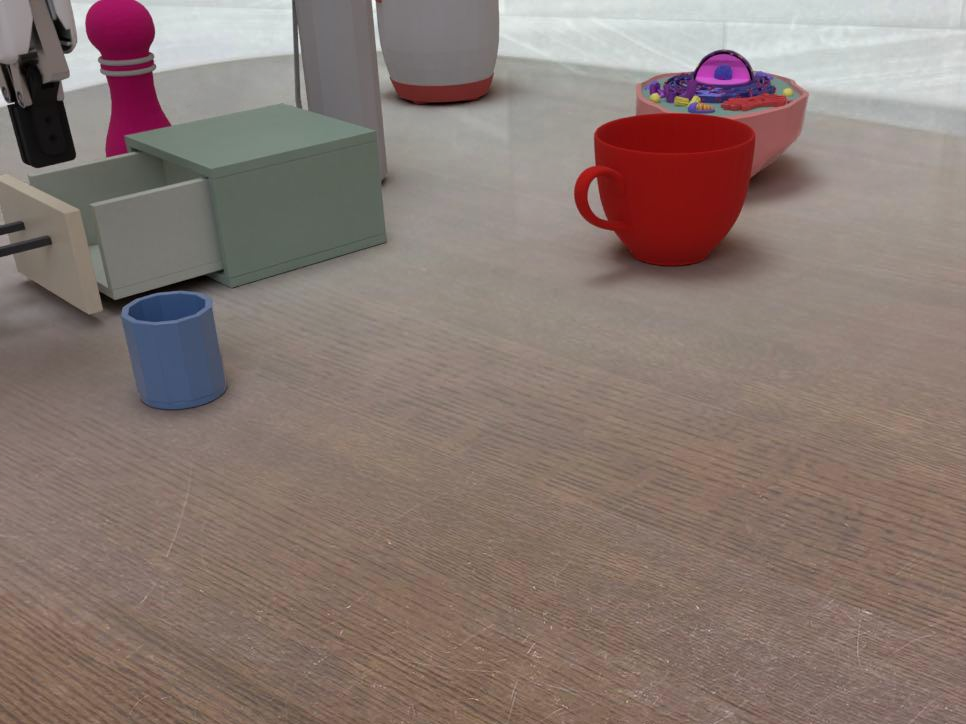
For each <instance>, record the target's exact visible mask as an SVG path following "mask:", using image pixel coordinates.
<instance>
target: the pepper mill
mask: <svg viewBox="0 0 966 724" xmlns="http://www.w3.org/2000/svg"><path fill="white" fill-rule="evenodd" d="M153 19H154V18H153V17H152V15H151V14H150V11H149V9H147V7H146V6H145V5H143V4H142V3H141V2H139V1H138V0H97V1H95V2H94V3H93V4H92V5H91V6H90V7H89V8H88V10H87V13H86V15H85V22H84V25H85V32H86V37H87V39H88V41H89V43H90V44H91V45H92V46H93V47H94V48H95V49H96V50H97V51H98V52H99V53H100V55H99V56H98V58H97V62H98V64H99V67H100V69H99V72H100V74H102V75H103V76H105V78H106V82H107V84H108V88H109V93H110V101H111V105H110V106H111V107H110V111H111V112H110V116H109V117H110V118H109V123H108V129H107V134H106V138H105V148H104V149H105V150H104V151H105V158H107V157H112V156H116V155H121V154H126V153H128V151H127V145H126V142H125V137H124V136H125V135H130V134H135V133H140V132H145V131H149V130H154V129H159V128H164V127H169V126H173V125H172V123H171V122H170V120H169V119H168V117H167V116H166V114H165V112H164V111H163V109H162V106H161V104H160V101H159V98H158V95H157V91H156V87H155V80H154V71H155V70H156V69H157V64H156V63H155V60H154V59H155V54H154V53H153V52H151V51H150V48H151V46H152V44H153V42H154V40H155V37H156V27H155V23H154V20H153Z"/></svg>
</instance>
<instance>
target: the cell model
mask: <svg viewBox="0 0 966 724" xmlns="http://www.w3.org/2000/svg"><path fill="white" fill-rule="evenodd" d="M809 97H810V92H808V91H807V90H806V89H804V88H803V87H801V86H800V85H799V84H797V82H796V80H794V79H792V78H789V77H786V76H781V75H778V74H773V73H769V72H765V71H761V70H754V69H753V67H752V65H751V64H750V62H749V61H748V60H747V59H746V58H745V57H744V56H743V55H741V53H739V52H737V51H735V50H732V49H723V48H722V49H717V50H714V51H711V52H709V53H708V54H706V55H704V57H702V58H701V60H699V62H698V64H697V65H696V67H695V69H694V70H693V71H692V70H691V71H682V72H669V73H661V74H657V75H655V76H653V77H651V78H648V79H646V80H644V81H643V82H639V83H637V84H636V85H635V116H637V115H645V114H658V113H691V114H704V115H712V116H719V117H724V118H729V119H732V120H736V121H739V122H742V123H744V124H746V125H748V126H749V127H751V128H752V129H753V131H754V132H755V149H754V157H753V164H752V170H751V176H750V179H751V178H753V177H755V175H756V174H758V173H759V172H761V171H762V170H764V169H766V168H767V167H769V166H770V165H772V164H773V163H775V162H776V161H777V160H778V159H779V158H781V156H783V154H784V153H785V152H786V151H787V150H788V149H789V148H790V147H791V146H792V145H794V144H795V142H796V141H797V140H798V139H799V138H800V136H801V135H802V132H803V130H804V125H805V119H806V113H807V107H808V102H809Z"/></svg>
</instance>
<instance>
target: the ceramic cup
mask: <svg viewBox="0 0 966 724" xmlns="http://www.w3.org/2000/svg"><path fill="white" fill-rule="evenodd" d="M593 149H594V162H595V163H594V165H593V166H592V165H591V166H589V167H587V168H585V169H584V170H583V171H581V173H580V174H579V175H578V177H577V178H576V181H575V184H574V187H573V198H574V203H575V207H576V209H577V211H578V213H579V214H580V215H581V217H582V218H583V219H584V220H585V221H586V222H587V223H588V224H590V225H592V226H594V227H596V228H598V229H603V230H606V231H611V232H614V234H615V235H616V236H617V238H618V239H619V240H620V241H621V243H622V244H623V245H624V246H625V247H626V248H627V249H628V250H629V252H630V253H631V255H632V257H634V259H636V260H638V261H640V262H643V263H646V264H651V265H655V266H669V267H672V266H673V267H674V266H685V265H692V264H695V263H699V262H701V261H703V260H706V259H707V258H708V257H709V256H710V253H712V251H714V249H715V248H717V247H718V245H720V243H721V242H722V241H723V240H724V239H725V238H726V236H727V235H728V234H729V233H730V231H731V229H732V228H733V227H734V225H736V222H737V220H738V218H739V216H740V215H741V212H742V209H743V207H744V204H745V201H746V198H747V195H748V194H747V193H748V190H749V186H750V181H751V178H750V176H751V170H752V164H753V157H754V149H755V132H754V131H753V129H752V128H751V127H749V126H748V125H746V124H744V123H742V122H739V121H736V120H732V119H729V118H724V117H719V116H712V115H704V114H691V113H658V114H645V115H637V116H636V115H630V116H627V117H620V118H617V119H614V120H611V121H608V122H606V123H603V124H601V125H600V126H598V127H597V128H596V130H595V131H594V133H593ZM595 179H596V182H597V188H598V194H599V198H600V204H601V206H602V209H603V213H604V215H605V218H606V219H603V218H600V217H598V216H597V215H596V214H595V213H594V211H593V210H592V208H591V206H590V203H589V197H588V196H589V188H590V186H591V184H592V182H593V181H594V180H595Z"/></svg>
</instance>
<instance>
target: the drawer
mask: <svg viewBox="0 0 966 724" xmlns="http://www.w3.org/2000/svg"><path fill="white" fill-rule="evenodd" d="M208 178H209V177H206V176H204V175H201V174H199V173H196V172H194V171H191V170H189V169H186V168H183V167H181V166H178V165H176V164H173V163H171V162H168V161H166V160H163V159H160V158H158V157H155V156H153V155H150V154H148V153H145V152H143V151H135V152H130V153H126V154H121V155H116V156H112V157H107V158H106V157H102V158H98V159H94V160H89V161H85V162H80V163H75V164H69V165H65V166H59V167H55V168H51V169H46V170H42V171H38V172H32V173H29V174H27V179H28V182H29V183H26V182H24V181H22V180H20V179H18V178H16V177H14V176H12V175H10V174H8V173H5V174H0V210H1V214H2V217H3V222H4V224H1V225H0V236H4V235H7V236H8V240H9V244H6V245H2V246H0V258H3V257H7V256H11V255H13V259H14V263H15V267H16V270H17V273H19V274H21V275H23V276H25V277H26V278H28V279H30V280H31V281H33V282H34V283H36V284H37V285H39V286H41V287H43V288H44V289H46V290H48V291H49V292H51V293H52V294H54V295H55V296H57V297H58V298H60V299H62V300H64V301H65V302H67V303H68V304H70V305H72V306H73V307H75V308H77V309H78V310H80V311H81V312H83V313H85V314H86V315H88V316H91V315H94V314H97V313H100V312H103V311H104V307H103V304H102V299H101V295H100V293H102V294H104V295H105V296H107V297H109V298H111V299H112V300H113V301H116V300H121V299H124V298H127V297H130V296H131V297H132V296H135V295H137V294H141V293H145V292H147V291H151V290H155V289H159V288H162V287H166V286H169V285H173V284H176V283H180V282H183V281H186V280H191V279H195V278H197V277H201V276H206V275H205V274H208V273H212V272H215V271H219V270H222V269H224V268H223V262H222V256H221V250H220V244H219V238H218V232H217V227H216V221H215V215H214V209H213V203H212V197H211V191H210V186H209V180H208Z"/></svg>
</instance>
